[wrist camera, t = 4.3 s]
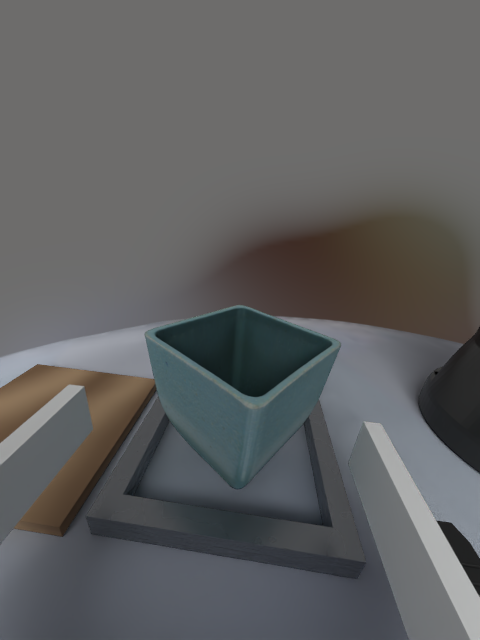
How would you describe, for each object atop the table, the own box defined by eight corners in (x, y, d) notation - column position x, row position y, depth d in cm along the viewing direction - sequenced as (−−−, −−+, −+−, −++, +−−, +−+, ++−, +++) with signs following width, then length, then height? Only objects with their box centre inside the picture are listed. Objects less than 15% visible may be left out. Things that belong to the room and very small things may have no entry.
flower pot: (233, 388, 24) (240, 301, 21) (316, 444, 19) (345, 340, 15) (150, 441, 18) (140, 330, 14) (238, 545, 13) (257, 411, 9)
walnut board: (158, 386, 23) (157, 379, 23) (62, 536, 12) (59, 527, 12) (39, 371, 24) (37, 364, 24) (-151, 500, 13) (-160, 490, 13)
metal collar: (310, 394, 24) (313, 382, 24) (357, 578, 12) (366, 562, 11) (177, 377, 25) (177, 365, 24) (90, 533, 13) (86, 516, 12)
